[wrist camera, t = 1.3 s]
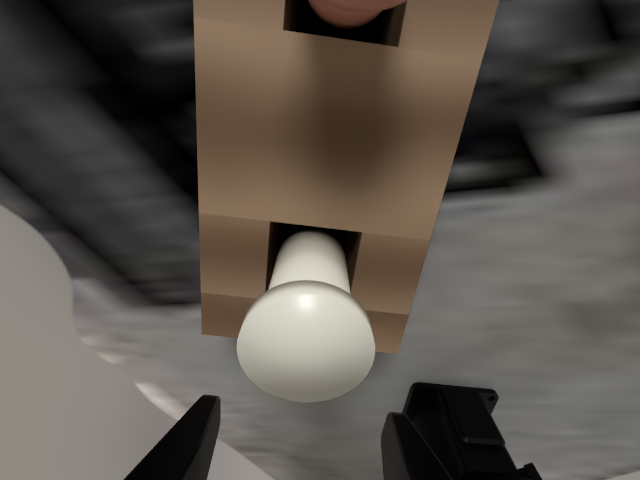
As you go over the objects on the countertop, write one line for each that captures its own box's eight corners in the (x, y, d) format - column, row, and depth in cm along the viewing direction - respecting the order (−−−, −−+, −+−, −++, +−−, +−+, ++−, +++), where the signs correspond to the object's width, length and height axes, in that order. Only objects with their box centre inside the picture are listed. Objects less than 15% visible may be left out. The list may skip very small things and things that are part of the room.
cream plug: (348, 302, 16) (362, 408, 11) (264, 293, 16) (235, 396, 11) (363, 225, 15) (388, 303, 9) (269, 214, 14) (238, 287, 9)
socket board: (381, 298, 22) (397, 354, 17) (227, 281, 21) (202, 334, 16) (479, -109, 13) (560, -213, 9) (233, -151, 13) (186, -284, 8)
